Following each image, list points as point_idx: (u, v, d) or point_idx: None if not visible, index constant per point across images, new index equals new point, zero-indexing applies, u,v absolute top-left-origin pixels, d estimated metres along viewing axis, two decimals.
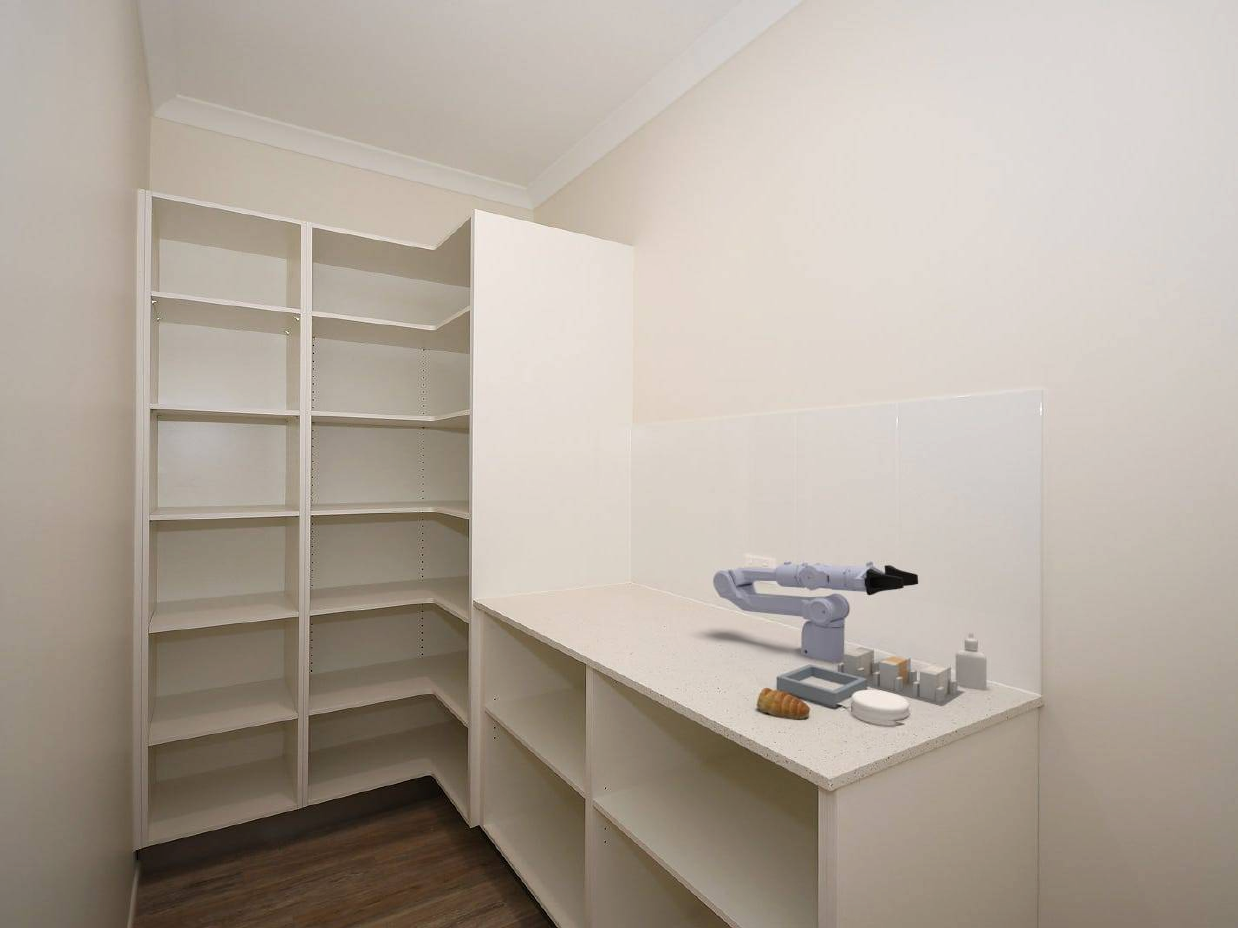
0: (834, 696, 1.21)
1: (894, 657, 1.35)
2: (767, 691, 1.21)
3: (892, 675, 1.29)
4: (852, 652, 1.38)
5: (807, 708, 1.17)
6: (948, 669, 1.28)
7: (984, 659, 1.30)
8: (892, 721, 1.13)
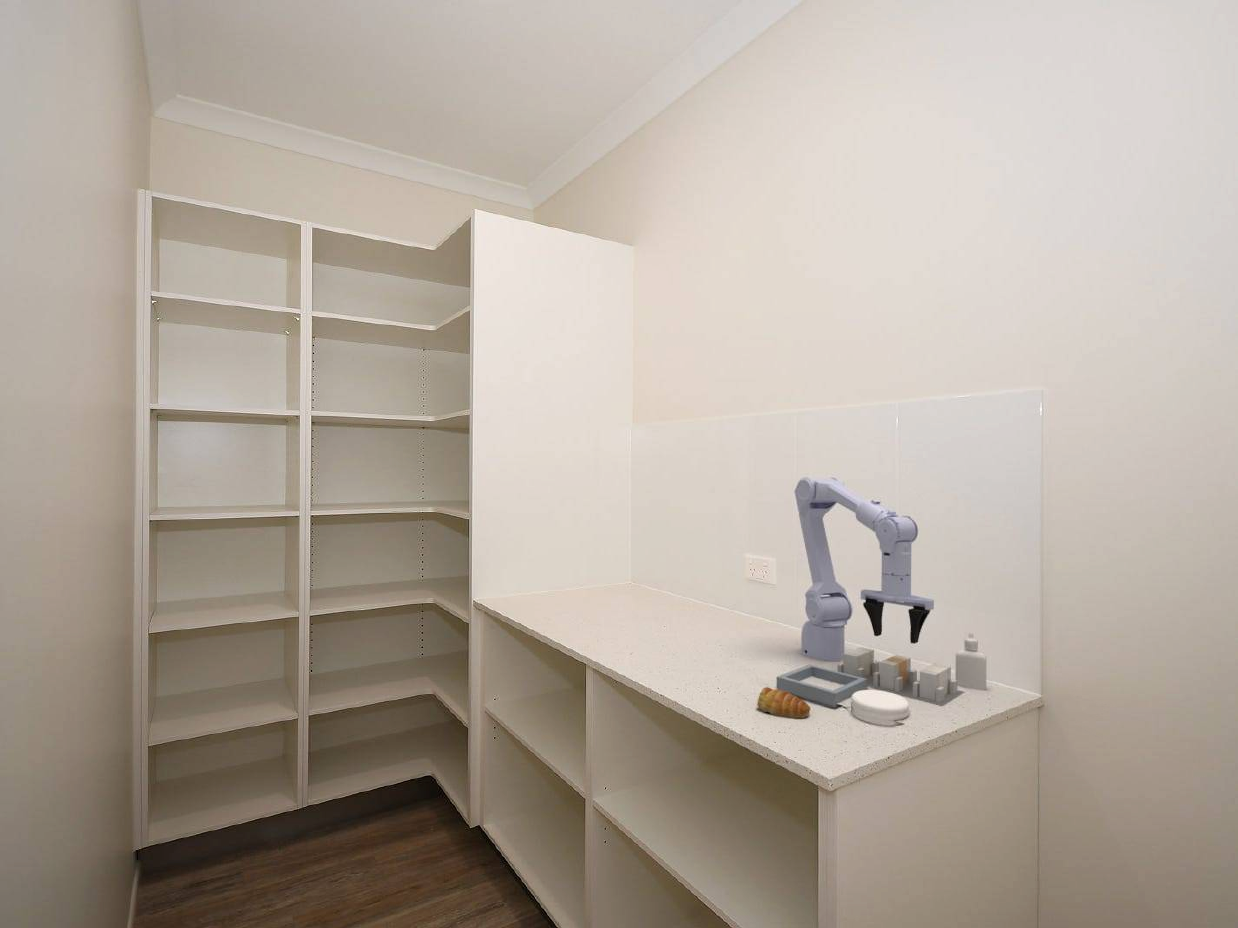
0: (834, 696, 1.21)
1: (894, 657, 1.35)
2: (767, 690, 1.21)
3: (892, 675, 1.29)
4: (852, 652, 1.38)
5: (807, 707, 1.17)
6: (948, 669, 1.28)
7: (984, 659, 1.30)
8: (892, 721, 1.13)
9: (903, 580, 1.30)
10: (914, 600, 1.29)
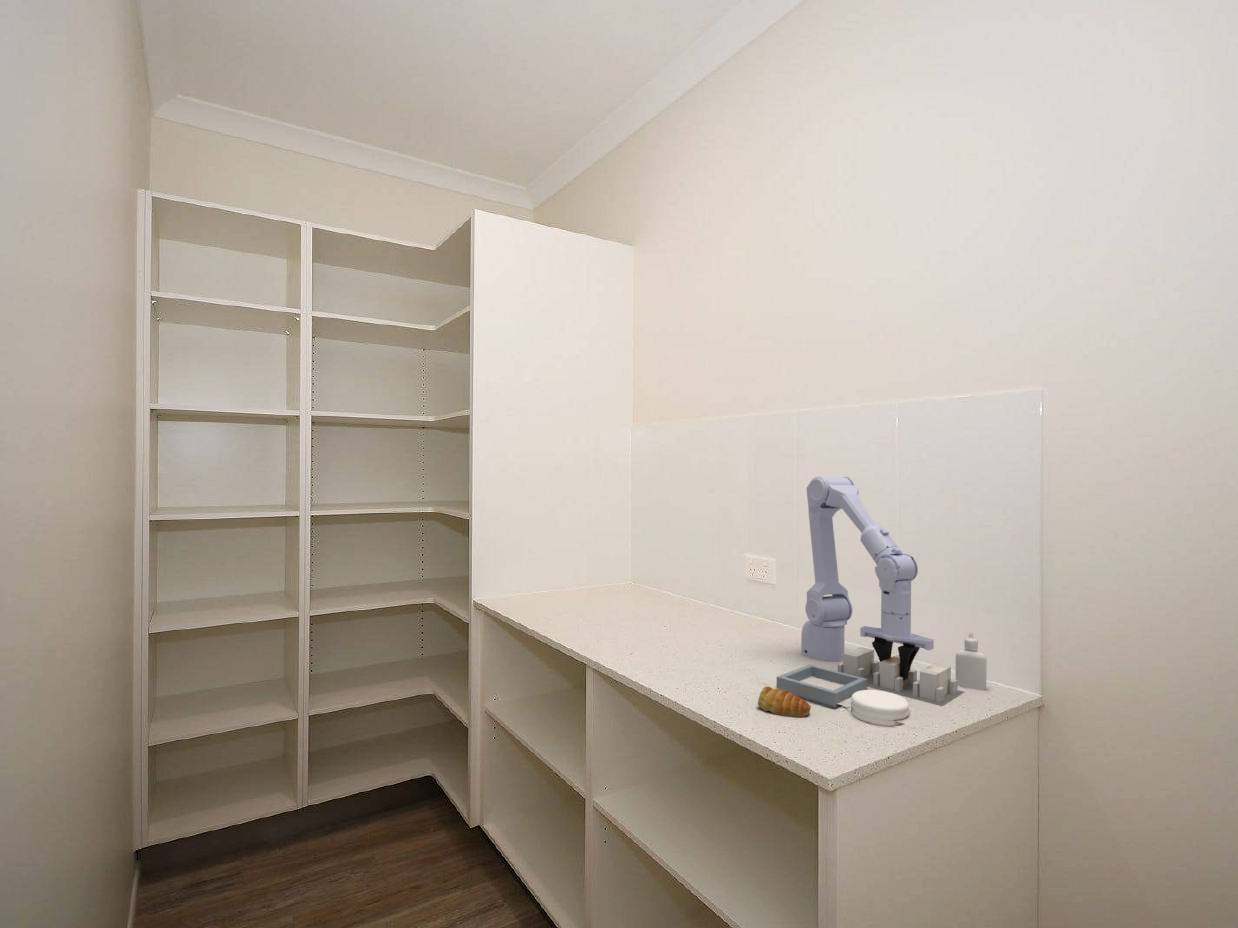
0: (834, 696, 1.21)
1: (894, 657, 1.35)
2: (768, 689, 1.22)
3: (892, 675, 1.29)
4: (852, 652, 1.38)
5: (808, 706, 1.18)
6: (948, 669, 1.28)
7: (984, 659, 1.30)
8: (892, 720, 1.13)
9: (903, 619, 1.30)
10: (914, 640, 1.29)
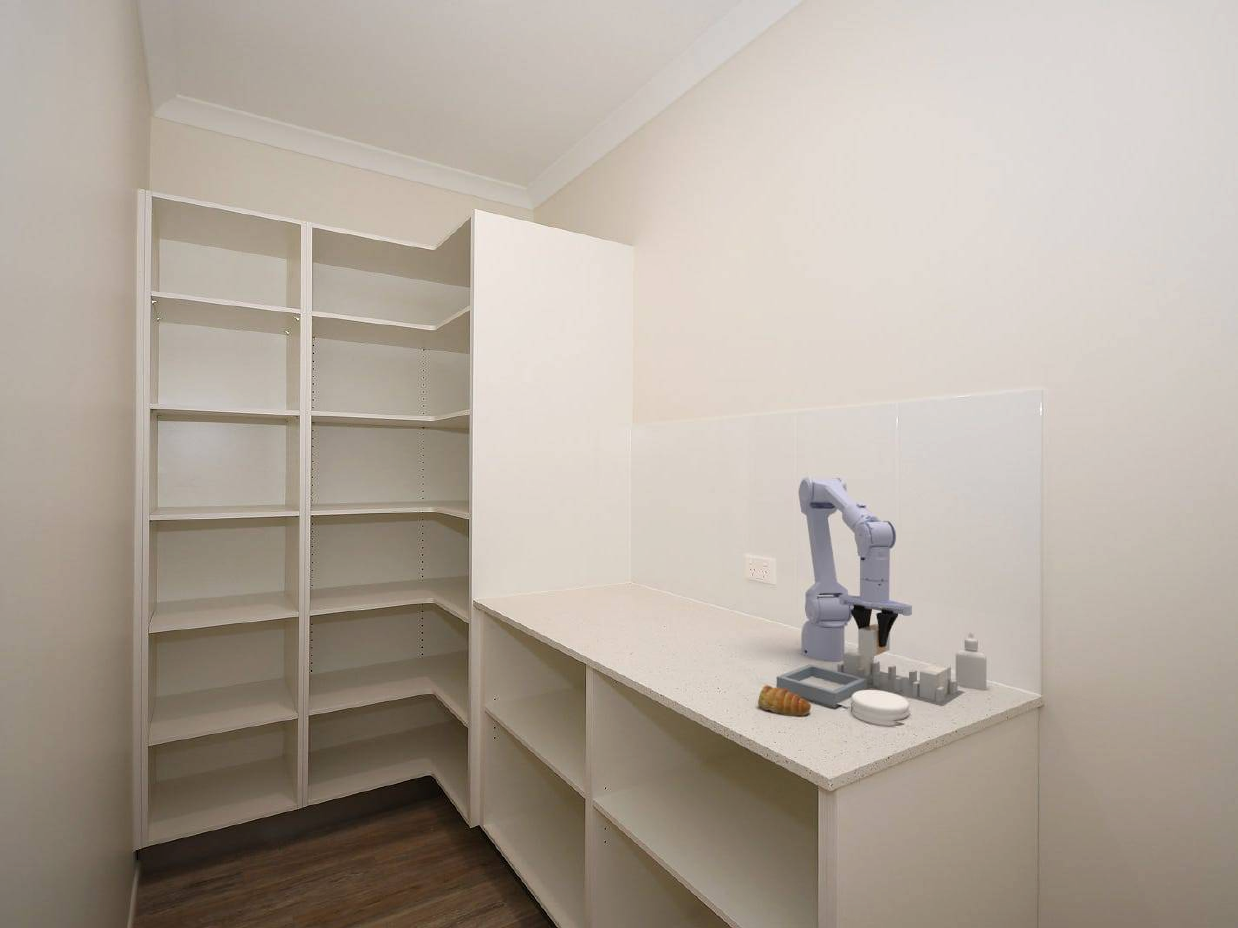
0: (834, 696, 1.21)
1: (873, 625, 1.34)
2: (768, 689, 1.22)
3: (870, 642, 1.28)
4: (852, 652, 1.38)
5: (808, 705, 1.18)
6: (948, 669, 1.28)
7: (984, 659, 1.30)
8: (892, 720, 1.13)
9: (881, 585, 1.29)
10: (892, 606, 1.28)
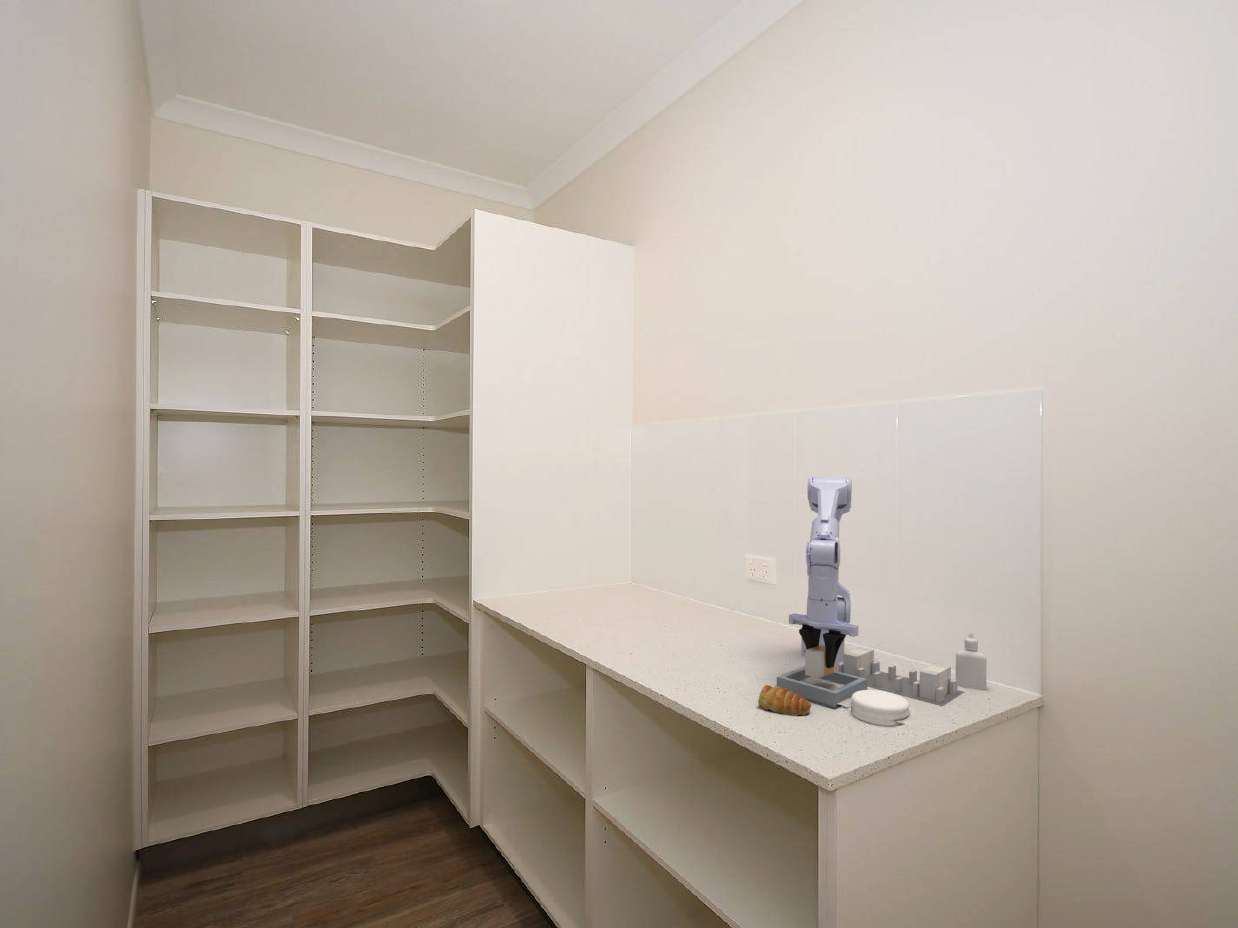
0: (834, 696, 1.21)
1: (822, 645, 1.32)
2: (768, 688, 1.22)
3: (817, 663, 1.26)
4: (852, 652, 1.38)
5: (808, 704, 1.19)
6: (948, 669, 1.28)
7: (984, 659, 1.30)
8: (892, 721, 1.13)
9: (828, 605, 1.27)
10: (838, 626, 1.26)
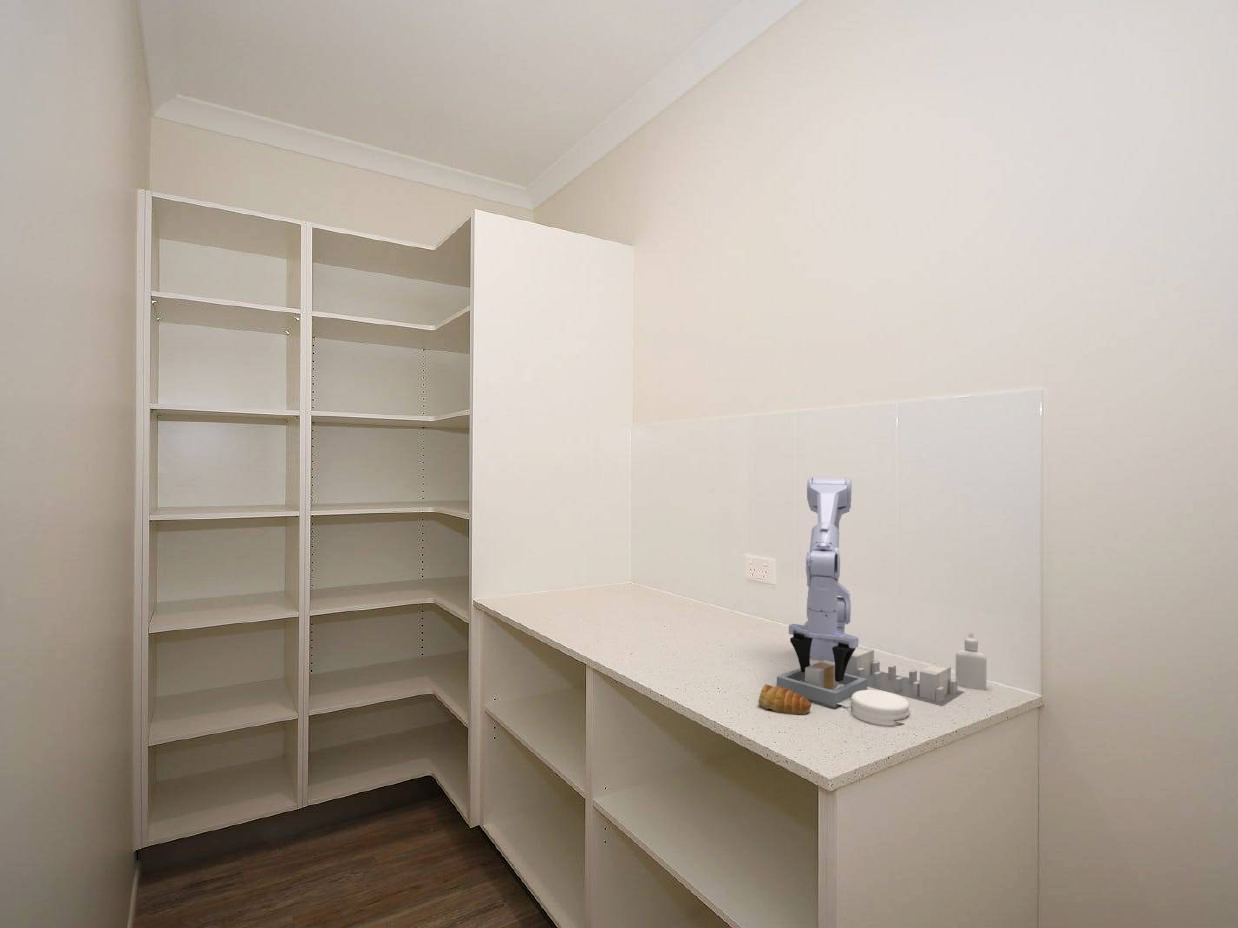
0: (834, 696, 1.21)
1: (822, 662, 1.32)
2: (768, 688, 1.23)
3: (816, 681, 1.26)
4: None
5: (808, 703, 1.19)
6: (948, 669, 1.28)
7: (984, 659, 1.30)
8: (892, 720, 1.13)
9: (828, 616, 1.27)
10: (838, 637, 1.26)
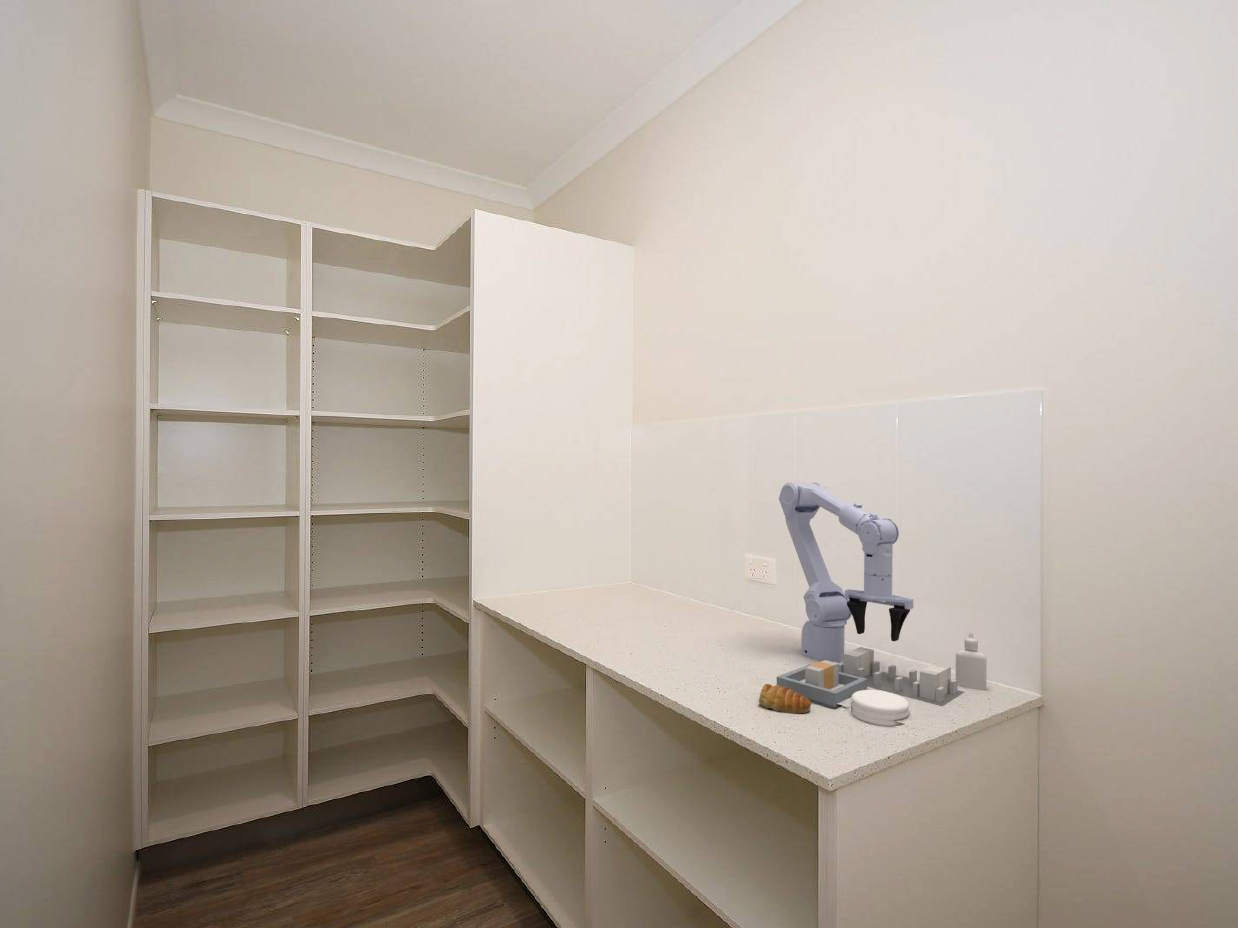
0: (834, 696, 1.21)
1: (822, 662, 1.32)
2: (768, 687, 1.23)
3: (816, 681, 1.26)
4: (852, 652, 1.38)
5: (809, 702, 1.20)
6: (948, 669, 1.28)
7: (984, 659, 1.30)
8: (892, 720, 1.13)
9: (884, 580, 1.36)
10: (894, 599, 1.34)
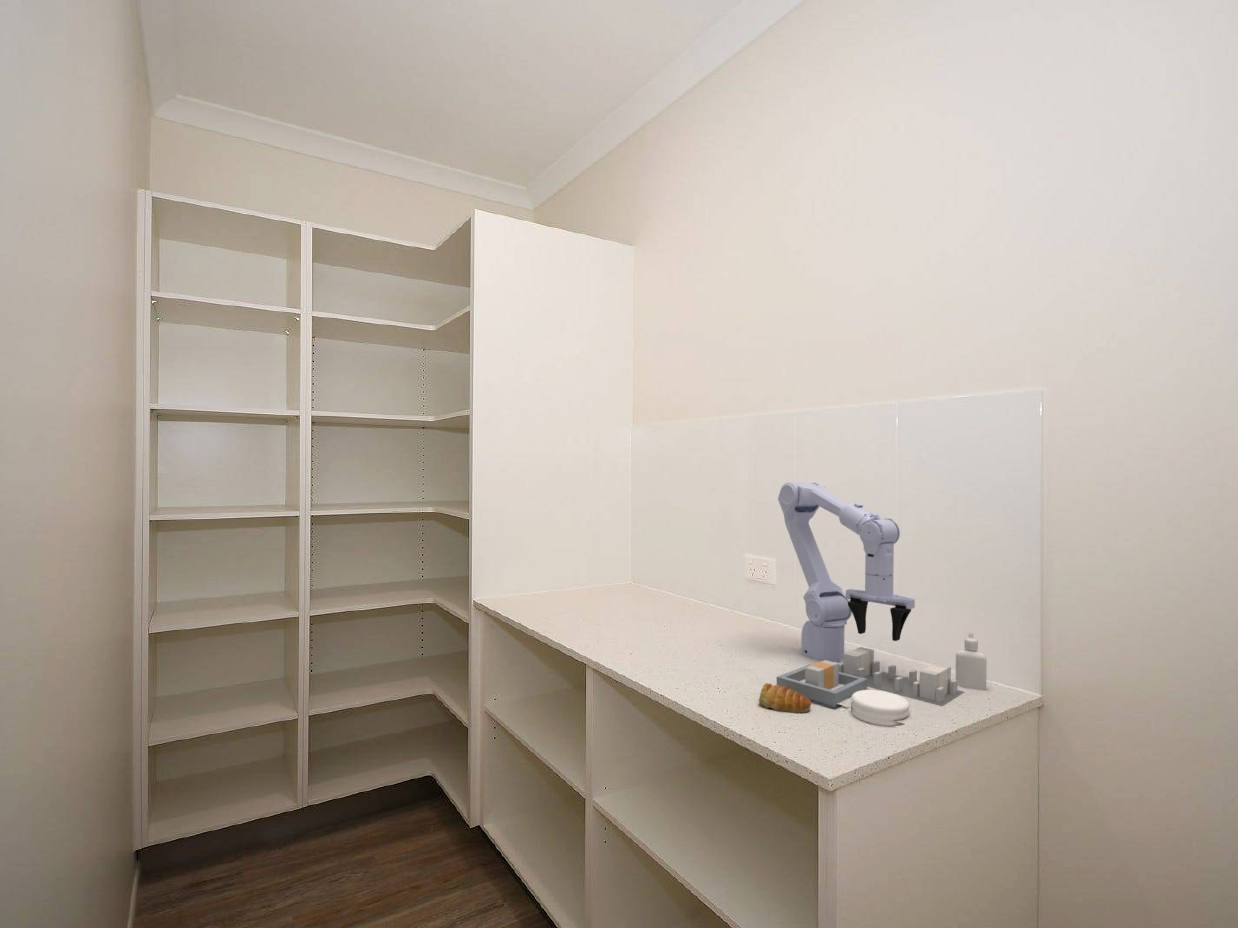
0: (834, 696, 1.21)
1: (822, 662, 1.32)
2: (768, 686, 1.23)
3: (816, 681, 1.26)
4: (852, 652, 1.38)
5: (809, 701, 1.20)
6: (948, 669, 1.28)
7: (984, 659, 1.30)
8: (892, 721, 1.13)
9: (885, 580, 1.36)
10: (896, 599, 1.34)
